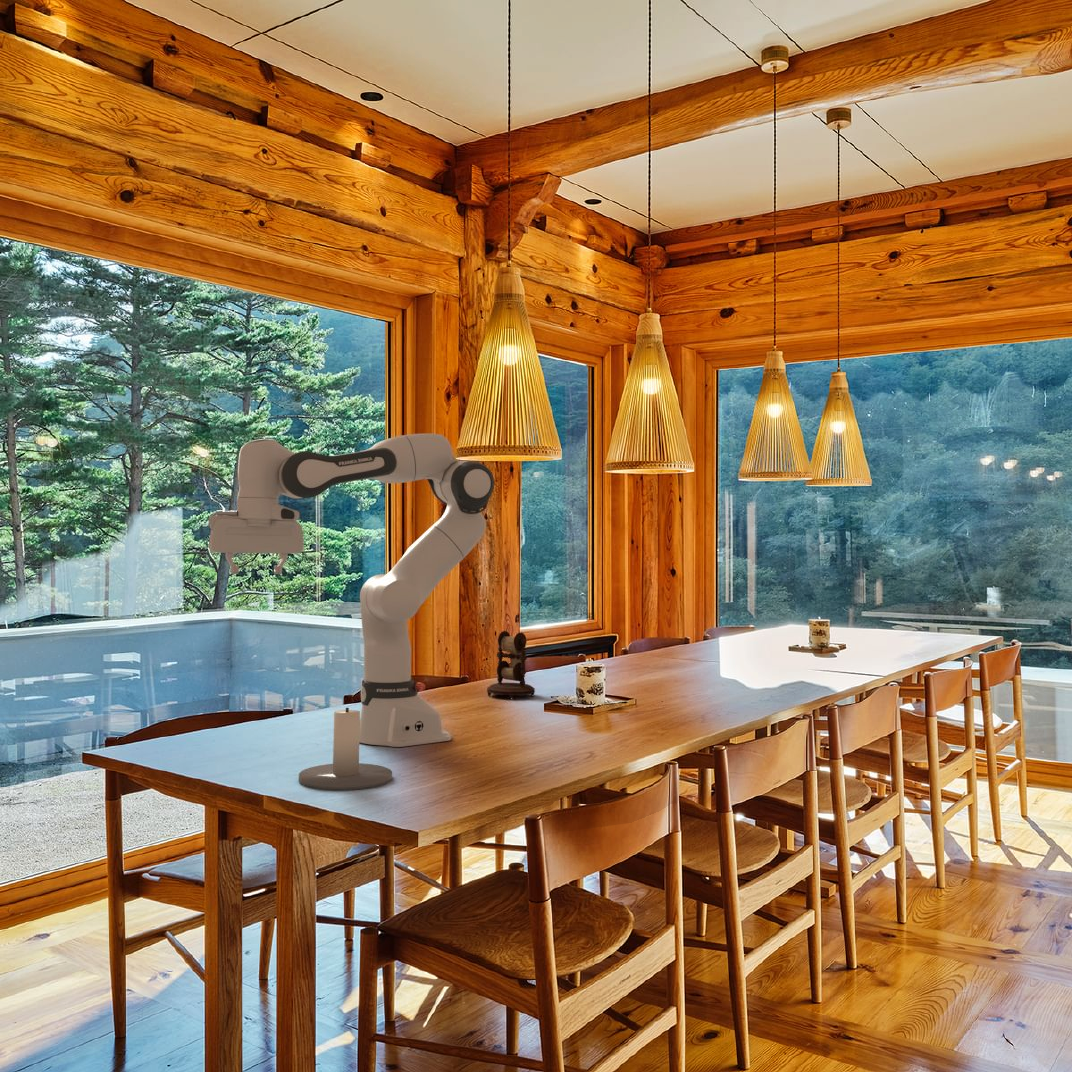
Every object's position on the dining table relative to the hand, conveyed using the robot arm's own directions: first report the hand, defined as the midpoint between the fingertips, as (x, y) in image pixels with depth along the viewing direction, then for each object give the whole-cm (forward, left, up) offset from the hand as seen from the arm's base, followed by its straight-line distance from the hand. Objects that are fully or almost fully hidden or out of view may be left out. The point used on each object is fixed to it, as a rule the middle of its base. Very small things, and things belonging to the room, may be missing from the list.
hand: (256, 573), depth 220 cm
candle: (-11, +34, -38) cm, 52 cm away
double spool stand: (-89, -51, -39) cm, 110 cm away
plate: (-11, +34, -39) cm, 53 cm away
